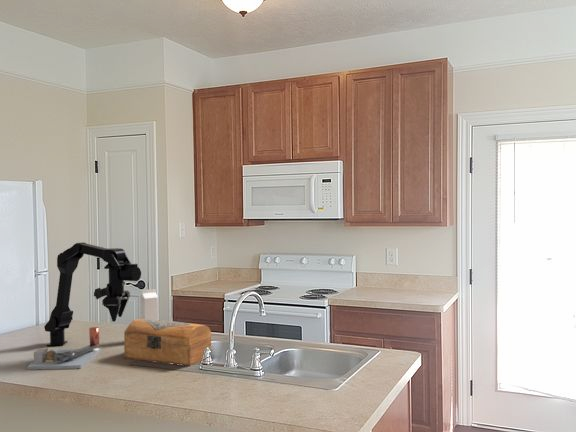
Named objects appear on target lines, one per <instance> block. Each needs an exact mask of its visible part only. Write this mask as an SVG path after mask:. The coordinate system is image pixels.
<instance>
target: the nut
mask: <svg viewBox="0 0 576 432" xmlns="http://www.w3.org/2000/svg"><path fill="white" fill-rule="evenodd" d="M54 354H56V352H55V351H53V350H52V349H51V350H47V354H46V358H47V359H48V360H51V359H54Z"/></svg>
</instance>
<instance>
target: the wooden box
mask: <svg viewBox="0 0 576 432" xmlns="http://www.w3.org/2000/svg"><path fill="white" fill-rule="evenodd" d="M123 338H124V341H123V342H124V347H123V348H124V359H126V360H133V361H134V360H135V361H141V360H147V361H146V362H149V361H156V362H155V363H157V362H164V363H163V364H166V363H173V364H179V365H178V366H181V365H180V364H182V365H185V366H184V367H191V365H192V366H193V365H196V364H199V362H202V361H203V360H202V359H203V355H204V351H205V349H206V347H209V348H210V351H211V352H212V333H211V329H210V327H209V326H208V325H205V324H198V323H189V322H188V323H187V322H181V321H171V320H163V319H158V320H148V319H141V318H137V319H134V320H132V321H131V322H130V323H129V325H128V326H127V327H126V329H125V330H124V337H123ZM173 364H172V365H173Z"/></svg>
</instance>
